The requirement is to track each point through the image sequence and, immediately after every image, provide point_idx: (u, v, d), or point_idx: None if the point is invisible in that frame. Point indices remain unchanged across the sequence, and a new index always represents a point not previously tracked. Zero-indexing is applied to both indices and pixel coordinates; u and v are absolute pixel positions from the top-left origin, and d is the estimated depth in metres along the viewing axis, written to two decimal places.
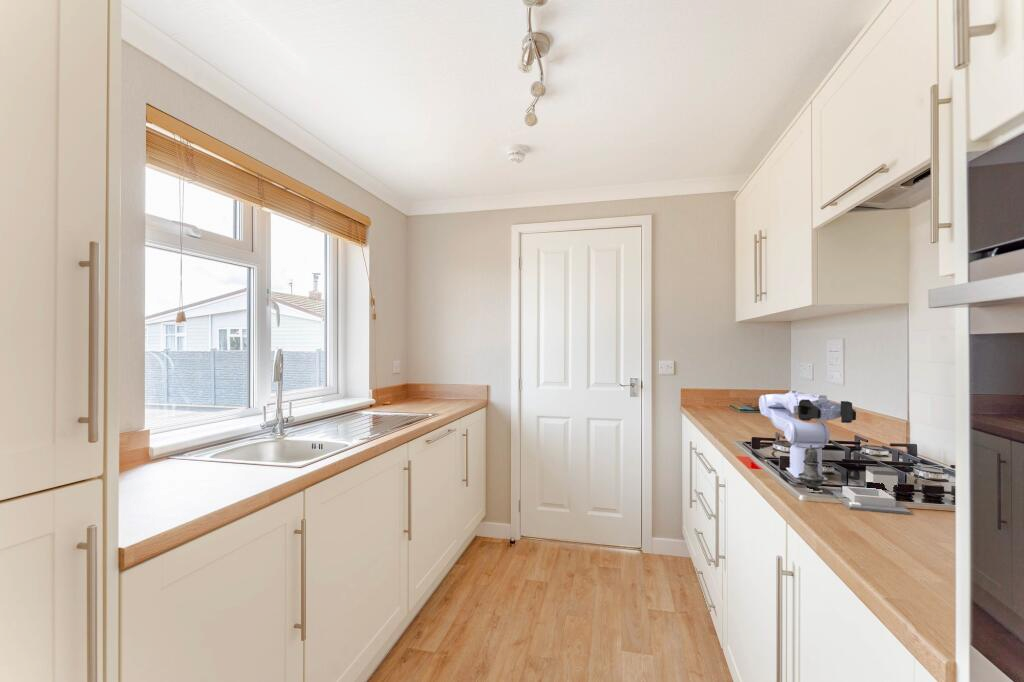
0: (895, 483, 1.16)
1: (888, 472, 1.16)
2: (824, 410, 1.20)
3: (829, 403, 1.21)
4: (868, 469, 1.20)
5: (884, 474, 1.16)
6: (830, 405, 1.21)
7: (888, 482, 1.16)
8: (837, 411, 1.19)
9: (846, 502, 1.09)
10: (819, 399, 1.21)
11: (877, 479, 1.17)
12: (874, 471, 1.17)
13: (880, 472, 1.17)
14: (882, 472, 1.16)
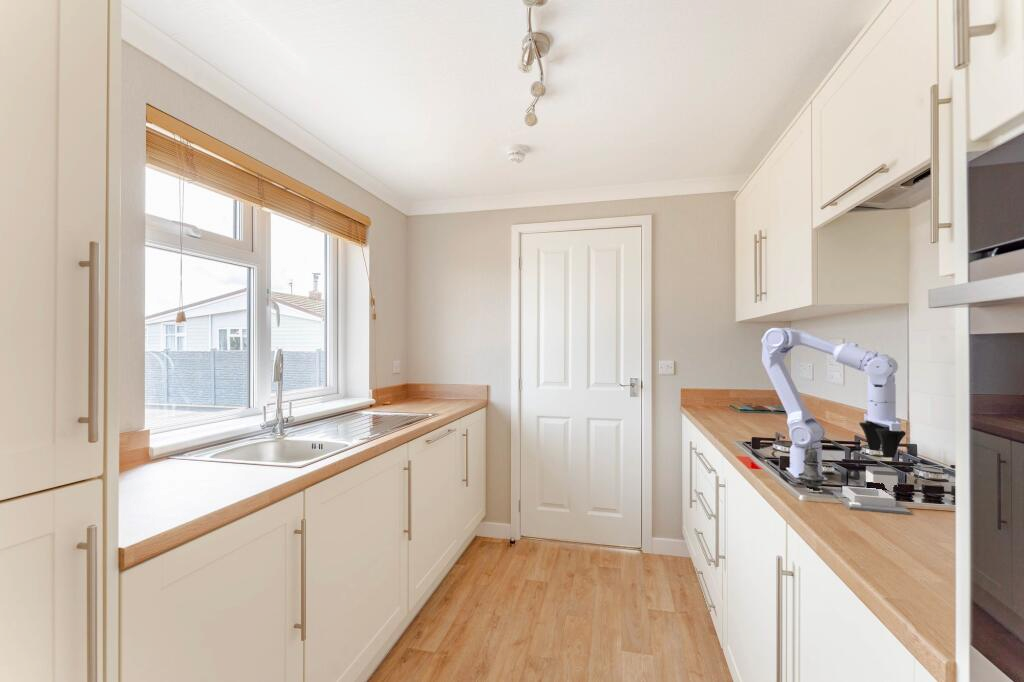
0: (895, 483, 1.16)
1: (888, 472, 1.16)
2: None
3: None
4: (868, 469, 1.20)
5: (884, 474, 1.16)
6: None
7: (888, 482, 1.16)
8: None
9: (846, 502, 1.09)
10: None
11: (877, 479, 1.17)
12: (874, 471, 1.17)
13: (880, 472, 1.17)
14: (882, 472, 1.16)
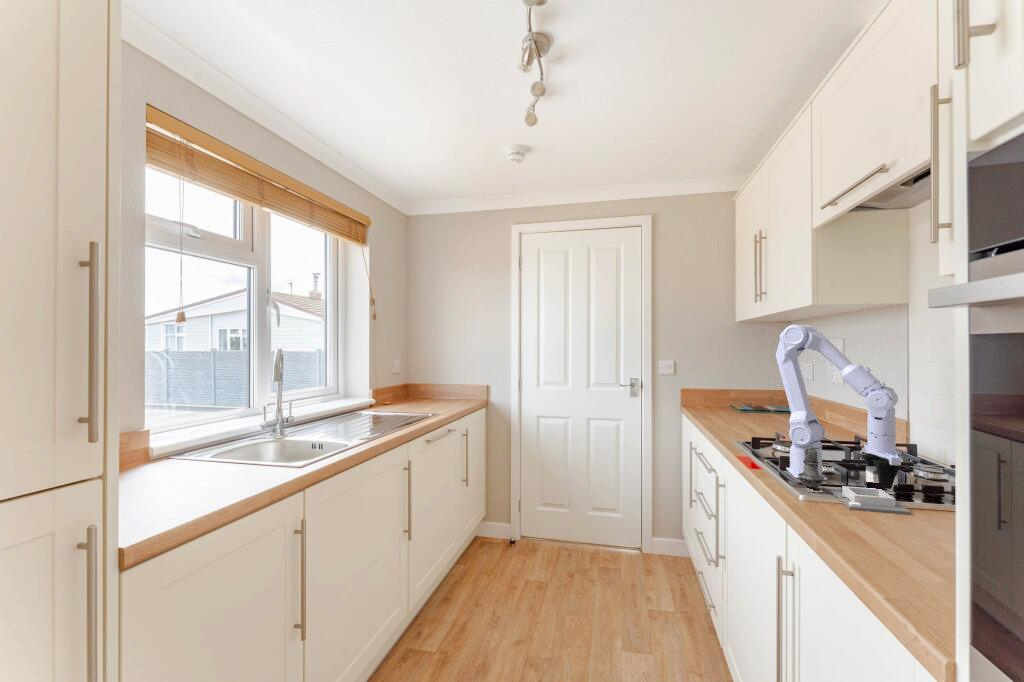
0: (895, 483, 1.16)
1: None
2: None
3: None
4: (868, 468, 1.20)
5: None
6: None
7: None
8: None
9: (846, 502, 1.09)
10: None
11: (877, 479, 1.17)
12: (874, 471, 1.17)
13: None
14: None
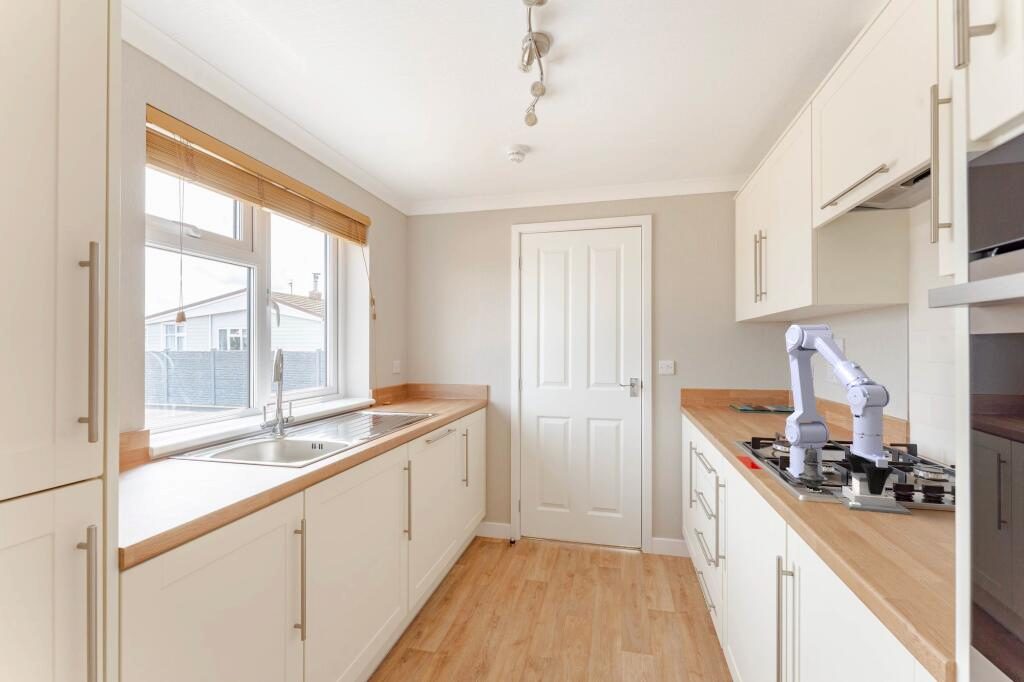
0: (883, 491, 1.08)
1: None
2: None
3: None
4: (854, 475, 1.12)
5: None
6: None
7: None
8: None
9: (846, 502, 1.09)
10: None
11: (864, 487, 1.09)
12: (860, 478, 1.09)
13: None
14: None
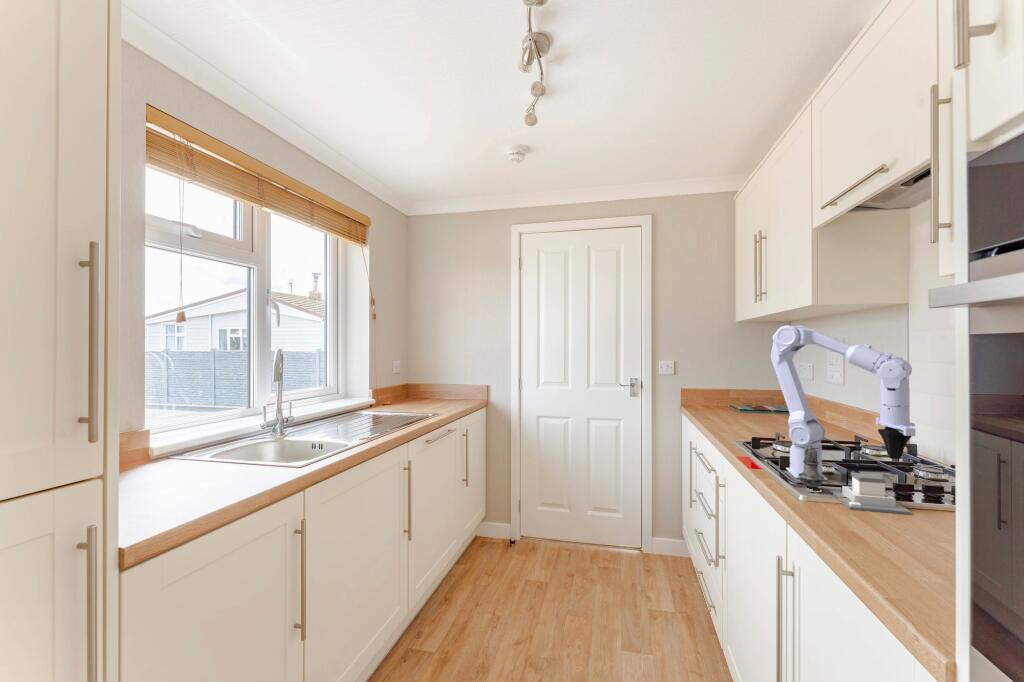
0: (883, 491, 1.08)
1: (875, 479, 1.08)
2: None
3: None
4: (854, 475, 1.12)
5: (871, 481, 1.09)
6: None
7: (875, 490, 1.09)
8: None
9: (846, 502, 1.09)
10: None
11: (864, 487, 1.09)
12: (860, 478, 1.09)
13: (867, 479, 1.09)
14: (869, 479, 1.09)
